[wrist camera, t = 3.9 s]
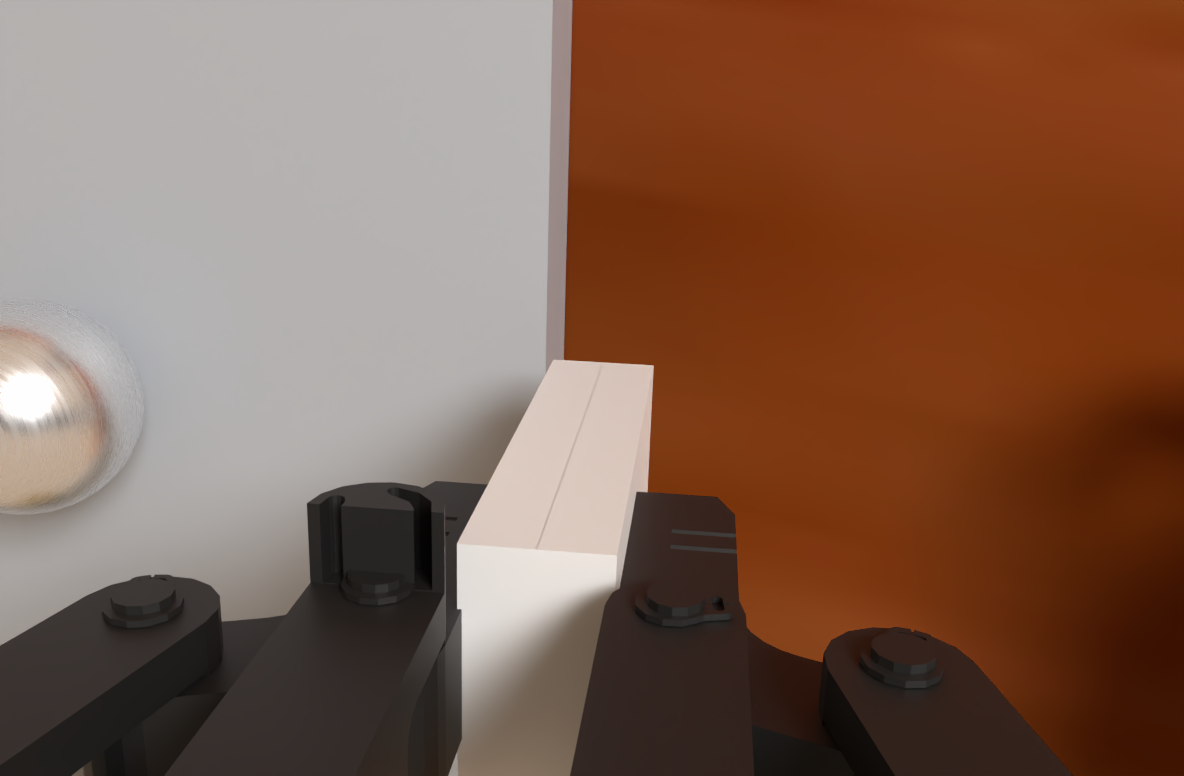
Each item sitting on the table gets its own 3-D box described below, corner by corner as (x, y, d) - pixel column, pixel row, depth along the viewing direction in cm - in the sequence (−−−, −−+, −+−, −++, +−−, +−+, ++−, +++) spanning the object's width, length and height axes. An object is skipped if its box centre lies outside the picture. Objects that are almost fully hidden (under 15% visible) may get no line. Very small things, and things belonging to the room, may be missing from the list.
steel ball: (4, 462, 20) (-134, 542, 17) (-22, 274, 19) (-172, 321, 16) (187, 474, 20) (84, 559, 16) (172, 284, 19) (59, 334, 15)
